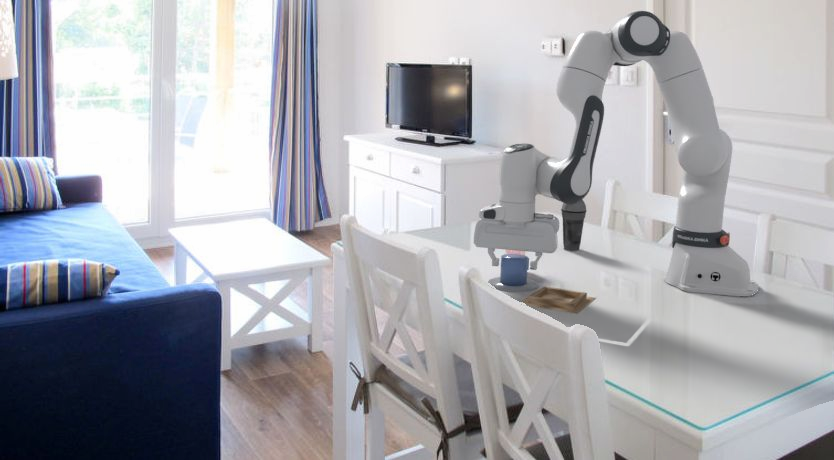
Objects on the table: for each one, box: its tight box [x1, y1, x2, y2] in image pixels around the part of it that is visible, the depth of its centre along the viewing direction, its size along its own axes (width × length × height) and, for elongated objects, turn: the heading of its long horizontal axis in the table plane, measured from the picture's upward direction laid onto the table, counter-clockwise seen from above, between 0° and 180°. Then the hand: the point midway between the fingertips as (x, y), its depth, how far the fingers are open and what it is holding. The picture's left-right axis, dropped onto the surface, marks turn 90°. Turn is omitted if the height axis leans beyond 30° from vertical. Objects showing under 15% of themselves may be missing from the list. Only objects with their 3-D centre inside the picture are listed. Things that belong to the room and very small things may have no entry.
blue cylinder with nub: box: [499, 253, 530, 286], centre depth 218 cm, size 10×6×6 cm
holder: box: [520, 285, 597, 315], centre depth 205 cm, size 14×14×2 cm
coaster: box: [487, 276, 538, 293], centre depth 217 cm, size 12×12×1 cm
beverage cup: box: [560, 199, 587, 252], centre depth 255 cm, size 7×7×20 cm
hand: (514, 267), depth 216 cm, fingers open, 8 cm apart
